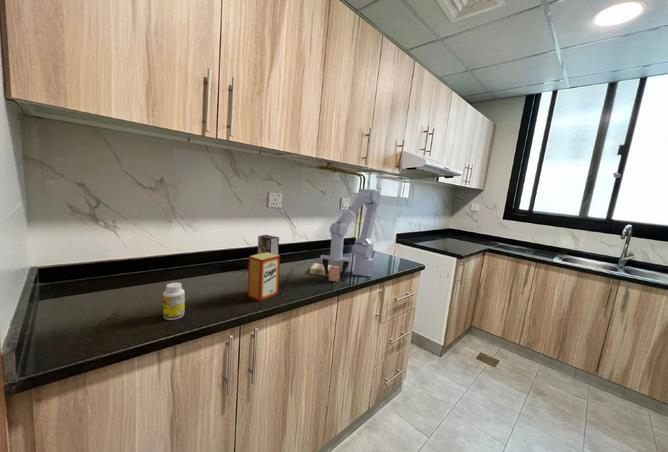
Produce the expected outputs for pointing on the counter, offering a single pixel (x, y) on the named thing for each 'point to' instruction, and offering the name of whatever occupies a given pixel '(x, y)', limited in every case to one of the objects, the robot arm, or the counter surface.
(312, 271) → the oak block
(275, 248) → the grey tall block
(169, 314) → the supplement bottle
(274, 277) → the baking soda box
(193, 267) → the counter surface
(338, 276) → the pinkish brown block
